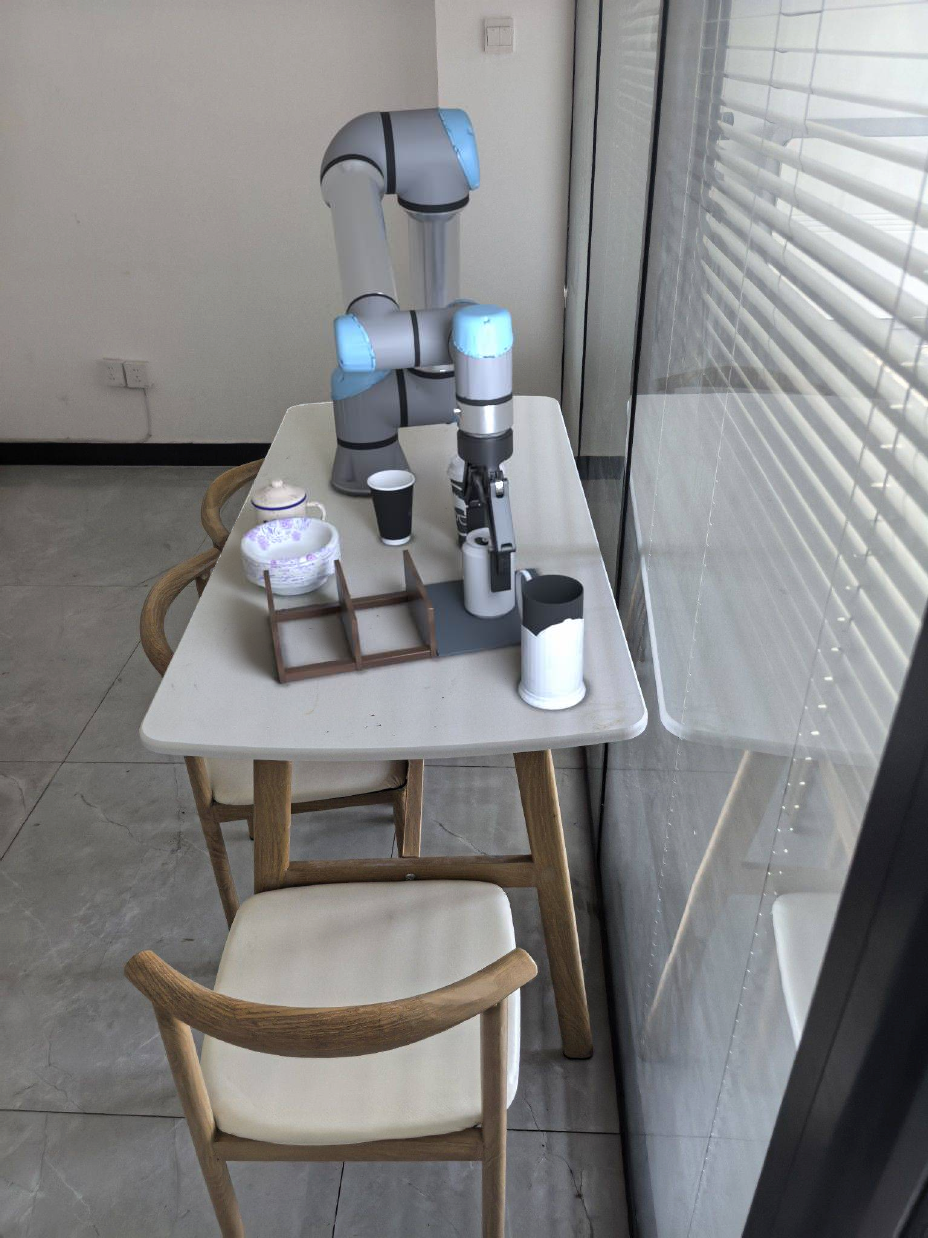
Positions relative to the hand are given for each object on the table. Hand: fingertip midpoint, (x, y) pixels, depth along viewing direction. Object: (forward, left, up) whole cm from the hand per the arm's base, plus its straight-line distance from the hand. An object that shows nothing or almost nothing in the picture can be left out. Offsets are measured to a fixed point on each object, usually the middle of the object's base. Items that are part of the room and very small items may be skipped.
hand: (488, 567), depth 140 cm
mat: (0, 0, -7) cm, 7 cm away
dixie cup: (-28, -9, -7) cm, 30 cm away
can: (0, 0, -7) cm, 7 cm away
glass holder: (+19, +2, -7) cm, 21 cm away
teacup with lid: (-32, -26, -7) cm, 42 cm away
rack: (+1, -21, -7) cm, 22 cm away
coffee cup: (-22, +4, -7) cm, 23 cm away
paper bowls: (-18, -27, -7) cm, 33 cm away
